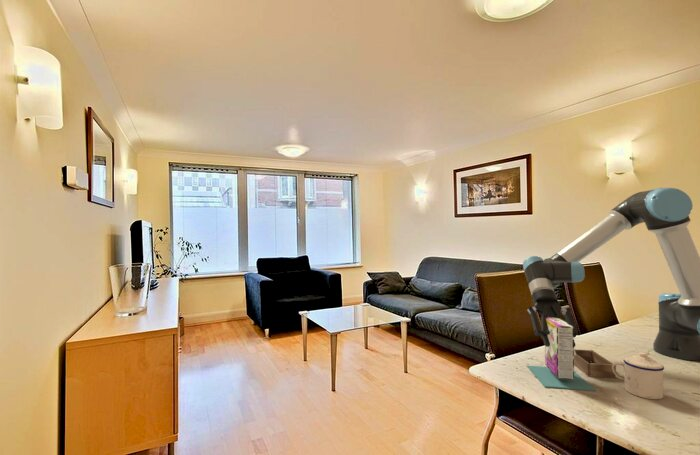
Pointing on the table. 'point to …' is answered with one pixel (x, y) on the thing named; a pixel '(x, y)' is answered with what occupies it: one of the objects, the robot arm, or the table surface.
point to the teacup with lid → (642, 376)
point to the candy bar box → (560, 348)
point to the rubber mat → (552, 381)
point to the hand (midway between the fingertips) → (563, 356)
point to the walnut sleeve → (593, 364)
